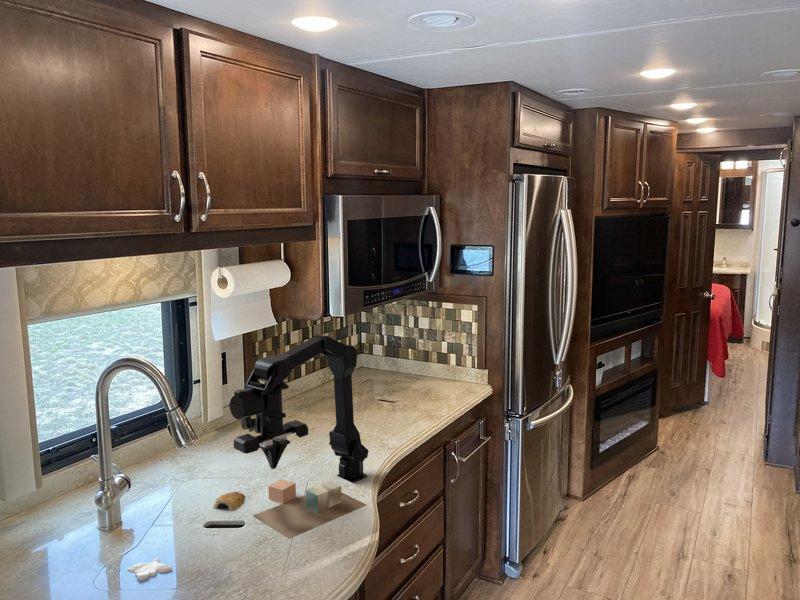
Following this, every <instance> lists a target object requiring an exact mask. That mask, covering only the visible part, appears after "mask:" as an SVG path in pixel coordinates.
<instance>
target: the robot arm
mask: <svg viewBox="0 0 800 600" xmlns="http://www.w3.org/2000/svg"><path fill="white" fill-rule="evenodd" d="M357 350H358V349H357V348H356V347H355V346H354V345H350V344H346V343H343V342H340V341H338V340H336V339H334V338H333V337H331V336H329V335H325V334H320V333H319V334H315V335H314V336H312V337H311V338H310V339H308V340H306V341H304V342H302V343H300V344H298V345H296V346H294V347H293V348H291V349H289V350H287V351H285V352H283V353H279V354H273V355H268V356H265V357H262V358H259V359H257V361H256V362H255V363H254V364H255V365H254V367H253V368H252V369H253V370H252V371H251V373H250V376H249V377H248V379H247V382H246V383H245V385H244V386H245V388H244V389H236V390H234V392H233V393H234V395H233V396H232V397H231V399H230V400H229V405H228V406H229V410H230V414H231V415H232V417H233V418H234V419H236V420H240V421H241V423H240V424H241V428H242V430H243V431H244V430H248V431H249V433H245V434H242V435H239V436H235V438H234V439H233V449H235V450H237V451H238V452H241V453H243V454H251V453H254V452H257V451H258V450H259V449H261V450H262V452H263V454H264V455H265V458H266V460H267V462H268V465H269V467H270V469H271V470H275V469H277V467H278V464H279V462H280V460H281V458H282V455H283V454H284V452H285V450H286V448H287V447H288V445H289V444H291V440H288V437H287V436H289V435H292V434H295V435H296V436H297V437H298V438H303V437H307V436H308V435H309V427H308V425H307V424H306V423H304V422H301V421H300V420H299V421H298V420H296V419H294V420H292V421H288V422H285V423H284V418H286V417H287V416H286V415H287V413H286V412H285V411H283V410H284V408H283V407H284V406H283V391H284V390H287V389H290V386H289V384H287V383H285V382H284V380H286V379H287V378H288V377H289V376H290V375H291V372H292V371H293V370H294V369H295V368H297V367H299V366H301V365H302V364H305V363H307V362H308V361H309V360H311V359H313V358H315V357H316V356H319V355H323V356H325V357H326V362H327V366H328V368H329V370H330V372H331V373H332V376H333V384H334V385H333V387H334V403H335V404H334V408H335V426H334V428H333V429H332V430H330V431H329V432H328V436H329V443H328V444H329V445H330V448H331V450H332V451H333V453H334V455H335V456H336V457H339V463H338V474H336V476H337V477H338V478H341V479H343V480H345V481H347V482H349V483H355V482H357V481H360V480H362V479H365V478H368V475H367V474H366V473H364V461H365V459H367V458H368V456H369V449H368V448H366V447H365V445H363V444H362V440H361V434H360V432H359V430H358V428H357V427H356V425H355V421H354V401H353V400H354V398H353V397H354V396H353V378H352V376H353V373H354V371H355V369H356V367H357V363H358V362H357V361H358V351H357ZM252 416H255V417H254V418H252ZM253 431H254V433H256V434H260V435H256V436H255V435H252V434H250V433H252V432H253Z"/></svg>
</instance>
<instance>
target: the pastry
mask: <svg viewBox="0 0 800 600" xmlns="http://www.w3.org/2000/svg"><path fill="white" fill-rule="evenodd" d="M245 497H246V496H245V495H244V493H242V492H239V491H233V492H228V493H225V494H221V495H220V496H219V497H217V498H216V500H215V502H214V504H213V506H212V509H216V510H219V509H220V510H222V509H223V510H224V509H228V511H234V510H236V509H238V508H239V507H240V506H241V505H242V504H243V503H244V500H245Z"/></svg>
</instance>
